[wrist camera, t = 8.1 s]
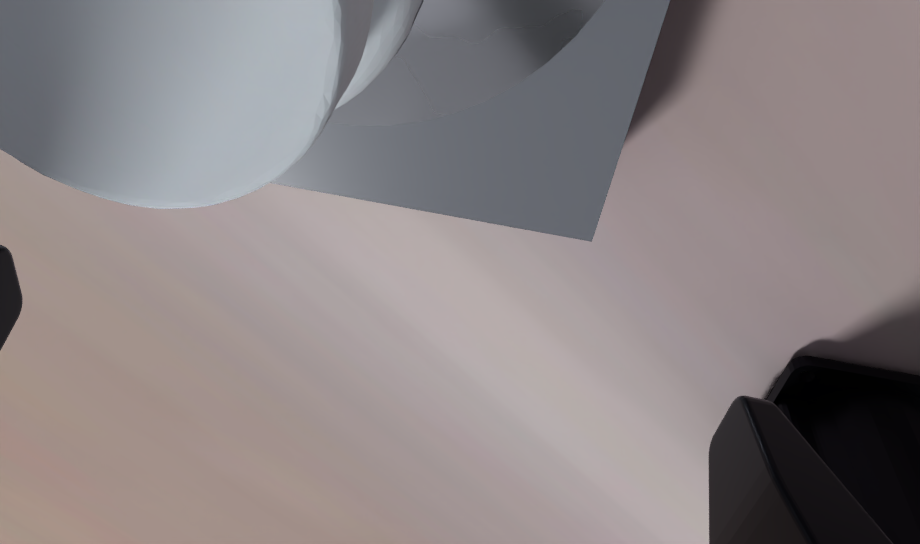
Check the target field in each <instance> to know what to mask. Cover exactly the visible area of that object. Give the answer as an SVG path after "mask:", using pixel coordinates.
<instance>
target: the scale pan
mask: <svg viewBox="0 0 920 544" xmlns="http://www.w3.org/2000/svg"><path fill="white" fill-rule="evenodd" d="M603 2H604V0H424V1H423V4H422V6H421V8H420V10H419V12H418V14H417V17H416V19H415V21H414V24H413V26H412V28H411V31H410V33H409V35H408V37H407V39H406V41H405V42H404V43H403V45H402V46H401V48H400V49H399V51H398V52H397V54H396V55H395V56H394V57H393V59H392V60H391V61H390V62H389V64H388V65H387V66H386V67H385V68H384V70H383V71H382V72H381V73H380V74H379V75H378V76H377V77H376V78H375V79H374V80H373V81H372V82H371V83H370V84H369V85H368V86H367V87H366V88H365V89H364V90H363V91H362V92H360V93H359V94H358V95H356V96H355V97H354V98H352V99H351V100H350V101H348V102H347V103H345V104H344V105H342V106H340V107H338V108H336V109H335V110H334V111H333V113H332V115H331V117H330V119H329V120H328V122H332V123H340V124H348V125H395V124H404V123H413V122H421V121H425V120H429V119H433V118H437V117H442V116H446V115H450V114H454V113H456V112H459V111H462V110H464V109H467V108H469V107H472V106H475V105H477V104H480V103H482V102H485V101H487V100H489V99H491V98H493V97H495V96H496V95H498V94H500V93H502V92H504V91H506V90H508V89H509V88H511V87H513V86H515V85H517V84H518V83H520V82H521V81H523V80H524V79H525V78H527V77H528V76H529V75H531V74H532V73H534V72H535V71H536V70H538V69H539V68H541V67H542V66H543V65H545V64H546V63H547V62H549V61H550V60H551V59H552V58H553V57H554V56H555V55H556V54H557V53H558V52H559V51H560V50H561V49H563V48H564V47H565V46H566V45H567V44H568V43H569V42H570V41H571V40H572V39H573V38H574V37H575V36H576V35H577V34H578V33H579V31H580V30H581V29H582V28H583V27H584V25H585V24H586V23H587V22H588V21H589V20H590V18H591V17H592V16H593V15H594V14H595V12H596V11H597V10H598V9H599V8H600V6H601V5H602V3H603Z"/></svg>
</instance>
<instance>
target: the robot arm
mask: <svg viewBox="0 0 920 544" xmlns="http://www.w3.org/2000/svg"><path fill="white" fill-rule="evenodd" d="M21 308H22V293H21V289H20V285H19V281H18V277H17V274H16V270H15V266H14V262H13V258H12V255H11V252H10V251H9V250H8V249H7V248H6V247H4V246H2V245H0V350H1V348H2V347H3V345H4V343H5V341H6V339H7V337H8V335H9V334H10V332H11V330H12V328H13V326H14V324H15V323H16V321H17V319H18V317H19V315H20V312H21ZM804 371H809V372H806V373H801V372H804ZM709 544H920V376H916V375H910V374H905V373H899V372H894V371H888V370H883V369H877V368H872V367H866V366H861V365H855V364H850V363H844V362H838V361H833V360H827V359H822V358H816V357H811V356H802V357H798V358H796V359H794V360H792V361H791V362H790V363H789V364H788V365H787V367H786V368H785V370H784V372H783V373H782V375H781V377H780V378H779V380H778V382H777V383H776V385H775V387H774V388H773V390H772V392H771V393H770V395H769V396H768V398H767V400H763V399H758V398H753V397H749V396H739V397H737V398H736V399H735V400H734V401H733V403H732V404H731V406H730V408H729V409H728V411H727V413H726V415H725V416H724V418H723V420H722V422H721V423H720V425H719V427H718V429H717V430H716V432H715V434H714V436H713V438H712V441H711V444H710V449H709Z"/></svg>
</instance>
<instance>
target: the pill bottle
mask: <svg viewBox="0 0 920 544" xmlns="http://www.w3.org/2000/svg"><path fill="white" fill-rule="evenodd" d="M423 1H424V0H0V149H1V150H3V151H5V152H6V153H8V154H10V155H12V156H13V157H15V158H16V159H17V160H19V161H20V162H22V163H24V164H25V165H27V166H29V167H31V168H32V169H34V170H36V171H37V172H39V173H41V174H43V175H45V176H47V177H50V178H52V179H54V180H57V181H59V182H61V183H64V184H66V185H68V186H70V187H73V188H75V189H77V190H80V191H83V192H86V193H89V194H92V195H95V196H98V197H100V198H104V199H108V200H111V201H115V202H119V203H123V204H128V205H133V206H141V207H149V208H157V209H179V208H196V207H203V206H210V205H216V204H219V203H222V202H225V201H229V200H232V199H236V198H239V197H242V196H244V195H246V194H249V193H251V192H253V191H256V190H258V189H260V188H261V187H263V186H265V185H267V184H269V183H270V182H272V181H274V180H275V179H276V178H278V177H279V176H280V175H282V174H283V173H284V172H285V171H287V170H288V169H289V168H290V167H291V166H293V165H294V164H295V163H296V162H297V161H299V160H300V159H301V158H302V157H303V155H304V154H305V153H306V152H307V151H308V149H309V148H310V147H311V146H312V144H313V143H314V142H315V141H316V140H317V138H318V137H319V135H320V134H321V132H322V130H323V129H324V127H325V125H326V124H327V122H328V120H329V119H330V117H331V115H332V113H333V111H334V110H335V109H336V108H338V107H340V106H342V105H344V104H345V103H347V102H348V101H350V100H351V99H352V98H354V97H355V96H356V95H358V94H359V93H360V92H362V91H363V90H364V89H365V88H366V87H367V86H368V85H369V84H370V83H371V82H372V81H373V80H374V79H375V78H376V77H377V76H378V75H379V74H380V73H381V72H382V71H383V70H384V68H385V67H386V66H387V65H388V64H389V62H390V61H391V60H392V59H393V57H394V56H395V55H396V54H397V52H398V51H399V49H400V48H401V46H402V45H403V43H404V42H405V41H406V39H407V37H408V35H409V33H410V31H411V28H412V26H413V24H414V21H415V19H416V17H417V14H418V12H419V10H420V8H421V6H422V4H423Z"/></svg>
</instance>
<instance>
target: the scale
mask: <svg viewBox="0 0 920 544" xmlns="http://www.w3.org/2000/svg"><path fill="white" fill-rule="evenodd" d="M669 2H670V0H604V2H603V3H602V5H601V6H600V8H599V9H598V10H597V11H596V12H595V14H594V15H593V16H592V17H591V18H590V20H589V21H588V22H587V23H586V24H585V25H584V27H583V28H582V29H581V30H580V31H579V33H578V34H577V35H576V36H575V37H574V38H573V39H572V40H571V41H570V42H569V43H568V44H567V45H566V46H565V47H564V48H563V49H561V50H560V51H559V52H558V53H557V54H556V55H555V56H554V57H553V58H552V59H551V60H550V61H549V62H547V63H546V64H545V65H543V66H542V67H541V68H539V69H538V70H536V71H535V72H534V73H532V74H531V75H529V76H528V77H527V78H525V79H524V80H523V81H521V82H520V83H518V84H517V85H515V86H513V87H511V88H509V89H508V90H506V91H504V92H502V93H500V94H498V95H496V96H495V97H493V98H491V99H489V100H487V101H485V102H482V103H480V104H477V105H475V106H472V107H469V108H467V109H464V110H462V111H459V112H456V113H454V114H450V115H446V116H442V117H437V118H433V119H429V120H425V121H421V122H413V123H404V124H395V125H348V124H340V123H332V122H327V124H326V125H325V127H324V129H323V130H322V132H321V134H320V135H319V137H318V138H317V140H316V141H315V142H314V143H313V144H312V146H311V147H310V148H309V149H308V151H307V152H306V153H305V154H304V155H303V157H302V158H301V159H300V160H299V161H297V162H296V163H295V164H294V165H293V166H291V167H290V168H289V169H288V170H287V171H285V172H284V173H283V174H282V175H280V176H279V177H278V178H276V179H275V180H274V181H272V182H270V183H273V184H279V185H284V186H290V187H295V188H301V189H306V190H312V191H317V192H323V193H328V194H334V195H339V196H345V197H350V198H356V199H361V200H367V201H372V202H377V203H383V204H388V205H394V206H399V207H405V208H410V209H416V210H421V211H427V212H432V213H438V214H443V215H449V216H454V217H460V218H465V219H471V220H476V221H482V222H487V223H493V224H498V225H504V226H509V227H514V228H520V229H525V230H531V231H536V232H542V233H547V234H553V235H558V236H564V237H569V238H575V239H580V240H586V241H591V242H592V239H593V236H594V233H595V230H596V227H597V224H598V221H599V218H600V215H601V212H602V209H603V205H604V202H605V199H606V196H607V193H608V190H609V187H610V184H611V181H612V178H613V175H614V172H615V169H616V165H617V162H618V159H619V156H620V153H621V150H622V147H623V144H624V141H625V138H626V135H627V132H628V129H629V126H630V122H631V119H632V116H633V113H634V110H635V107H636V104H637V101H638V98H639V95H640V92H641V89H642V86H643V82H644V79H645V76H646V73H647V70H648V67H649V64H650V61H651V58H652V55H653V52H654V49H655V46H656V42H657V39H658V36H659V33H660V30H661V27H662V24H663V21H664V18H665V15H666V12H667V9H668V6H669Z"/></svg>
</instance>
